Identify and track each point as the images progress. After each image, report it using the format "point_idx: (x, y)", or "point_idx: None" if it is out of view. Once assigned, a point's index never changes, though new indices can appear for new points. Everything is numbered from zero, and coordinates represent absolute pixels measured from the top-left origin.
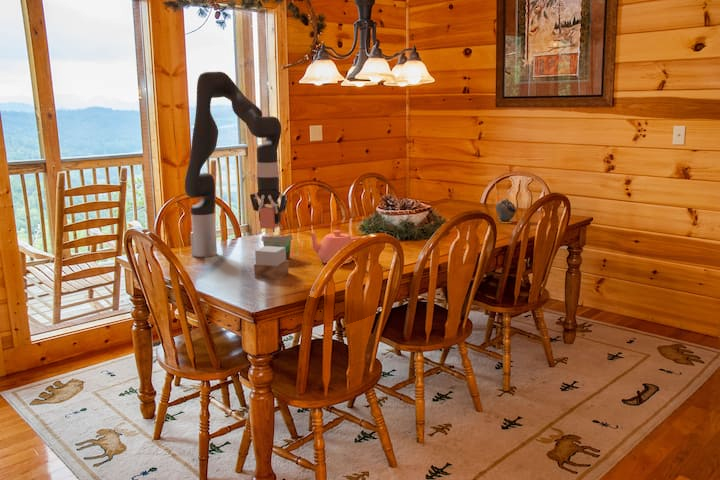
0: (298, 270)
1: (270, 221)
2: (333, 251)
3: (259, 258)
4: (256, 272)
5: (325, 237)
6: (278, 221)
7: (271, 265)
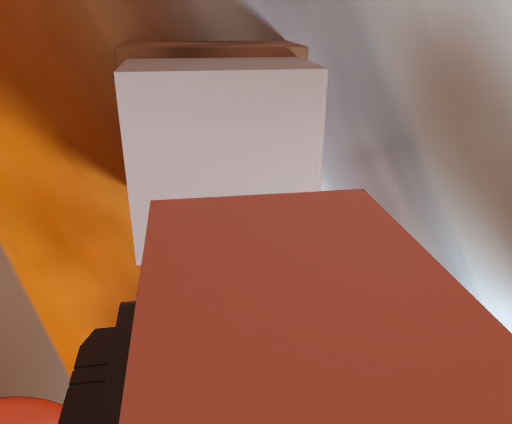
0: (116, 258)
1: (198, 254)
2: None
3: (275, 61)
4: (279, 42)
5: None
6: (88, 341)
7: (169, 58)
